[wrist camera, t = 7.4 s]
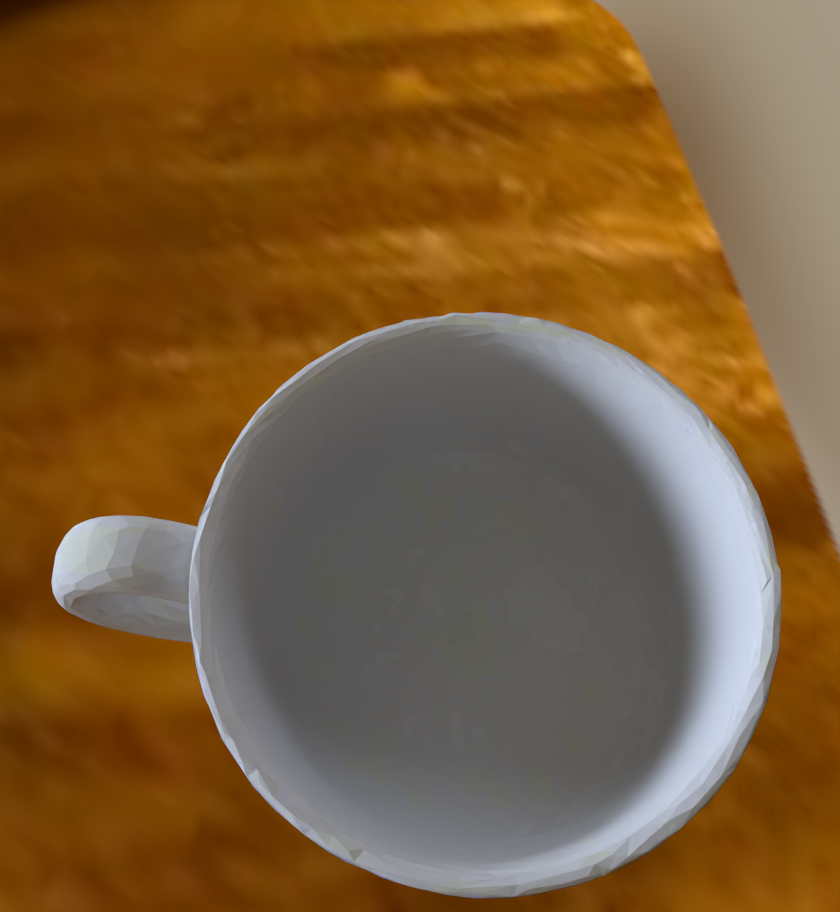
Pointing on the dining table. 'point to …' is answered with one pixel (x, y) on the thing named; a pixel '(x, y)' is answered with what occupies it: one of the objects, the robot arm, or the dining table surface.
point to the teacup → (466, 603)
